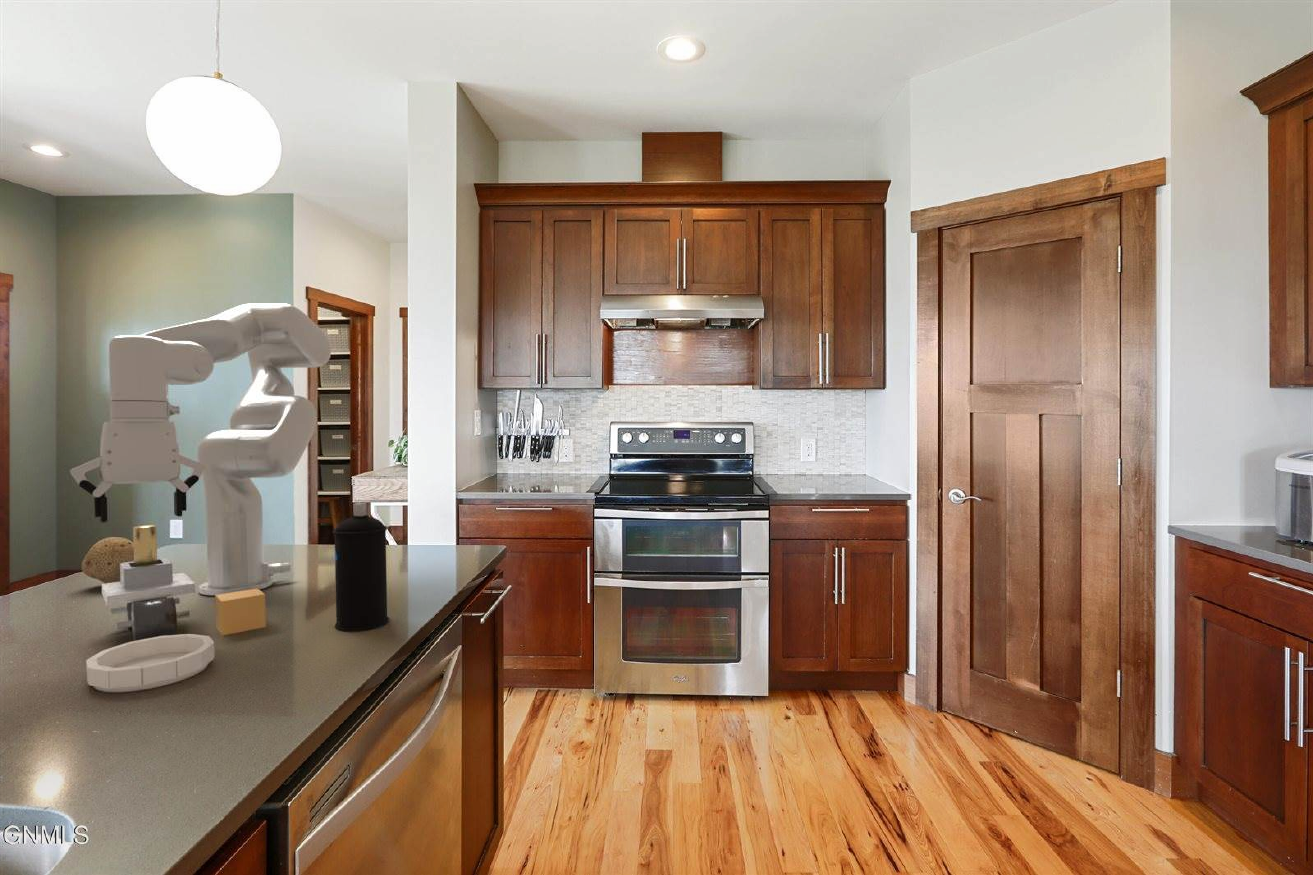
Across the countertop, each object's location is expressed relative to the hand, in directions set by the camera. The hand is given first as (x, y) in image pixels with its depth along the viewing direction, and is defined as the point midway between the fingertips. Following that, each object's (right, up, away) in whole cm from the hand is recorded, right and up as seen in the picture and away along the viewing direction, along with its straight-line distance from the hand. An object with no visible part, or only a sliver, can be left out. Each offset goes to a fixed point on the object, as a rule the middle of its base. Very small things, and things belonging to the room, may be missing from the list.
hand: (142, 518), depth 108 cm
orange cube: (+16, -18, +1) cm, 24 cm away
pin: (0, -10, +1) cm, 10 cm away
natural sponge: (-27, -17, +28) cm, 43 cm away
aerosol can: (+35, -18, +2) cm, 39 cm away
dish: (+16, -19, -18) cm, 30 cm away
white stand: (+2, -18, -1) cm, 18 cm away
